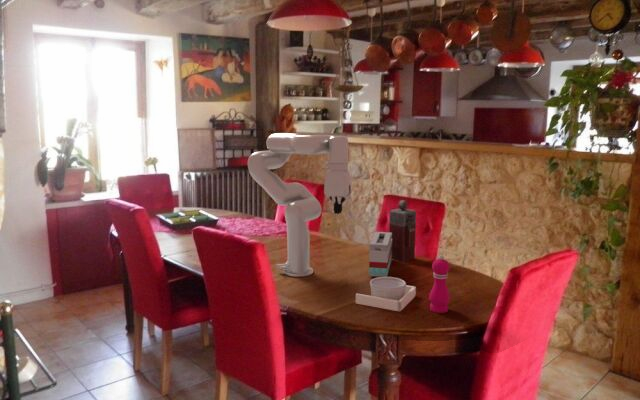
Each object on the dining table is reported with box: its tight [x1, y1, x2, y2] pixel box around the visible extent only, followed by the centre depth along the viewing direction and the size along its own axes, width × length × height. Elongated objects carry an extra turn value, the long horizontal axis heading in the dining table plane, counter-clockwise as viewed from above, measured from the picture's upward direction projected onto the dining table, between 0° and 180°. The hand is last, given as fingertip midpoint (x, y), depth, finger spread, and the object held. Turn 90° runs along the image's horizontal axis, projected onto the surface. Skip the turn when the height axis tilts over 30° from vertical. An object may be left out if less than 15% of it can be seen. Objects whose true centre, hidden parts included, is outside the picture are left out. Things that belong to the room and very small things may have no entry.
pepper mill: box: [428, 254, 451, 314], centre depth 183 cm, size 7×7×20 cm
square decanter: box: [388, 199, 417, 263], centre depth 245 cm, size 9×11×28 cm
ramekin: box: [369, 276, 407, 301], centre depth 194 cm, size 13×13×7 cm
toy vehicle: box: [368, 231, 393, 278], centre depth 231 cm, size 8×30×15 cm, turn 169°
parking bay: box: [355, 284, 417, 313], centre depth 195 cm, size 17×18×4 cm
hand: (337, 213), depth 208 cm, fingers closed
